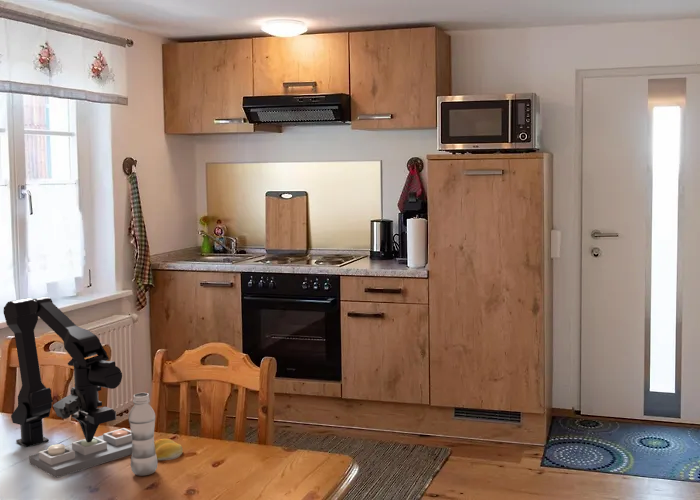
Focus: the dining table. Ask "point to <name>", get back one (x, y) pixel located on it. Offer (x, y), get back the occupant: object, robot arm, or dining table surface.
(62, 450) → the cream button
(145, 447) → the plastic bottle
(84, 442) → the sage button
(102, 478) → the dining table surface
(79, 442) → the panel
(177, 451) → the bread roll
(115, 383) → the robot arm
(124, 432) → the terracotta button
